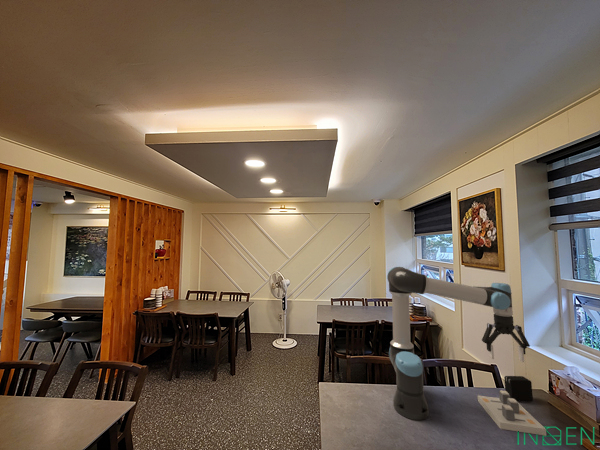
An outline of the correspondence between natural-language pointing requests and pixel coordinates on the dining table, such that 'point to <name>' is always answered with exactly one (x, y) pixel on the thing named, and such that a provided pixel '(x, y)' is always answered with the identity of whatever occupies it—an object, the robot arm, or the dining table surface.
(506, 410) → the slider near
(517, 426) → the switch unit
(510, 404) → the slider mid
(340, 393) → the dining table surface
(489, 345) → the robot arm
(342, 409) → the dining table surface
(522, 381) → the electronic device
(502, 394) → the slider far
